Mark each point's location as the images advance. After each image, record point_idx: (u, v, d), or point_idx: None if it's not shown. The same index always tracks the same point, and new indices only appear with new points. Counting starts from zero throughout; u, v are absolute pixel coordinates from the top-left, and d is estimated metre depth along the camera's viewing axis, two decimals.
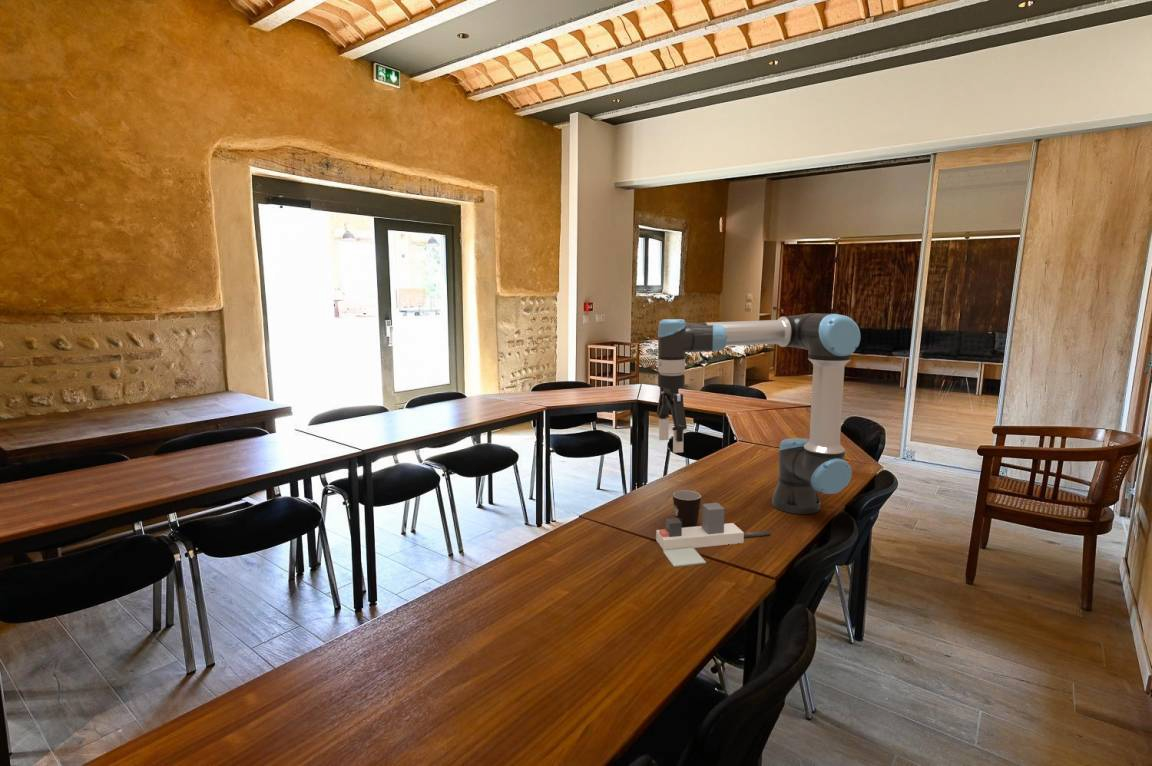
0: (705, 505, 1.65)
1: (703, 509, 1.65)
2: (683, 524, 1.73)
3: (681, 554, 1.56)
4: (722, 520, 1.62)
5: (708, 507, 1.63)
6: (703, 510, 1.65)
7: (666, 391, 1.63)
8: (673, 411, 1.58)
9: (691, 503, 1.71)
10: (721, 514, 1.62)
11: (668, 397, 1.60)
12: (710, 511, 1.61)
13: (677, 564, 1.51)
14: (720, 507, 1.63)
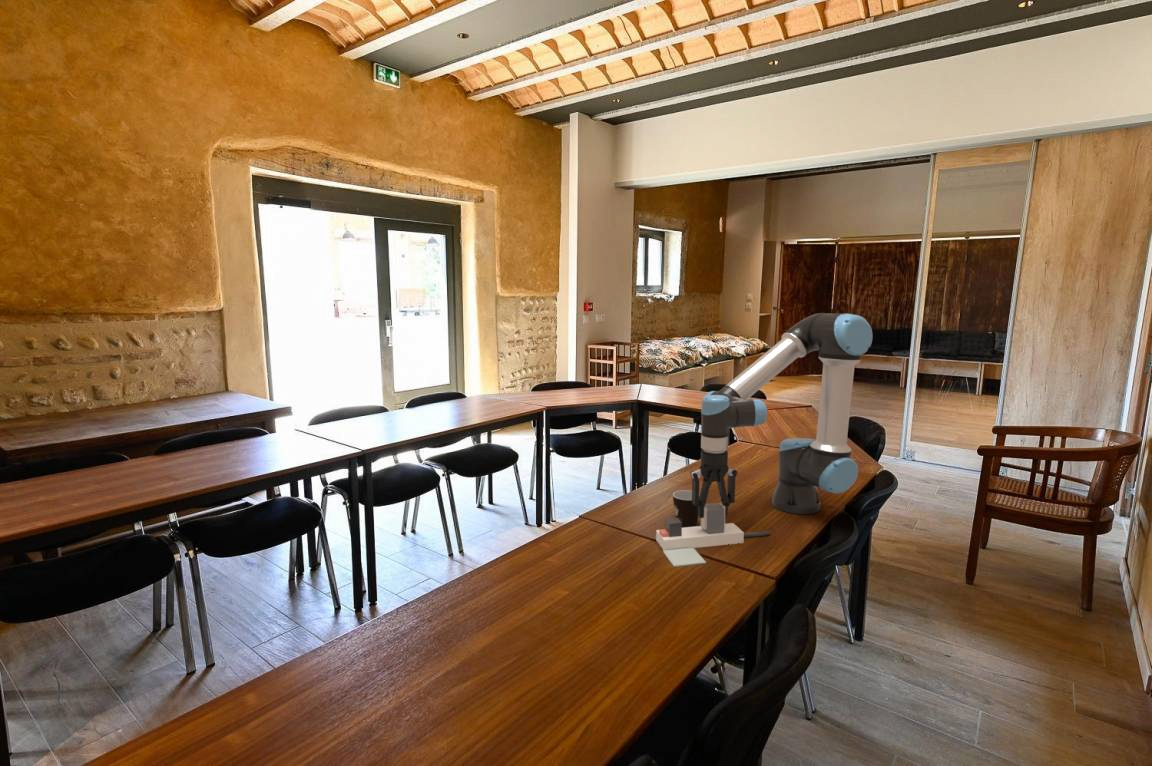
0: (705, 505, 1.65)
1: None
2: (683, 524, 1.73)
3: (681, 554, 1.56)
4: (722, 520, 1.62)
5: (708, 507, 1.63)
6: None
7: None
8: (702, 487, 1.63)
9: (691, 503, 1.71)
10: (721, 514, 1.62)
11: None
12: (710, 511, 1.61)
13: (677, 564, 1.51)
14: (720, 507, 1.63)
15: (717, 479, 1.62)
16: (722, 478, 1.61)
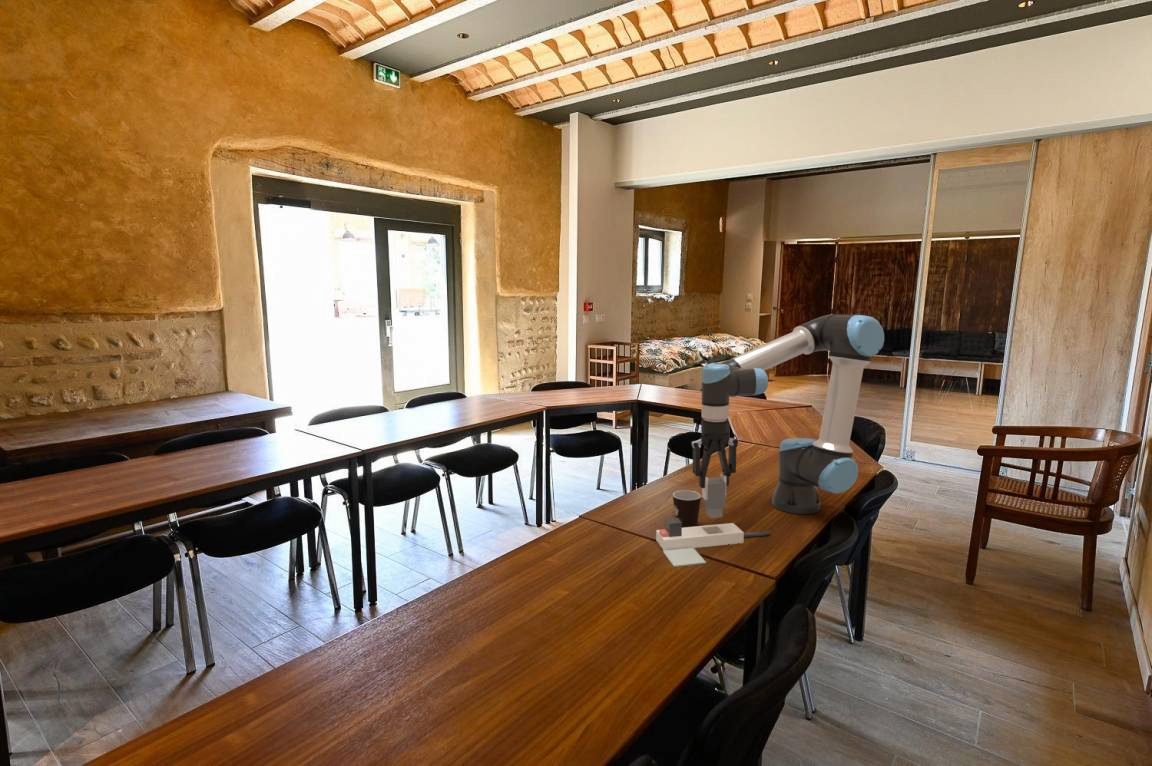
0: None
1: None
2: (683, 524, 1.73)
3: (681, 554, 1.56)
4: (723, 494, 1.61)
5: (709, 481, 1.62)
6: None
7: None
8: (703, 457, 1.62)
9: (691, 503, 1.71)
10: (722, 488, 1.61)
11: None
12: (711, 485, 1.60)
13: (677, 564, 1.51)
14: (721, 481, 1.62)
15: (718, 449, 1.60)
16: (723, 447, 1.60)
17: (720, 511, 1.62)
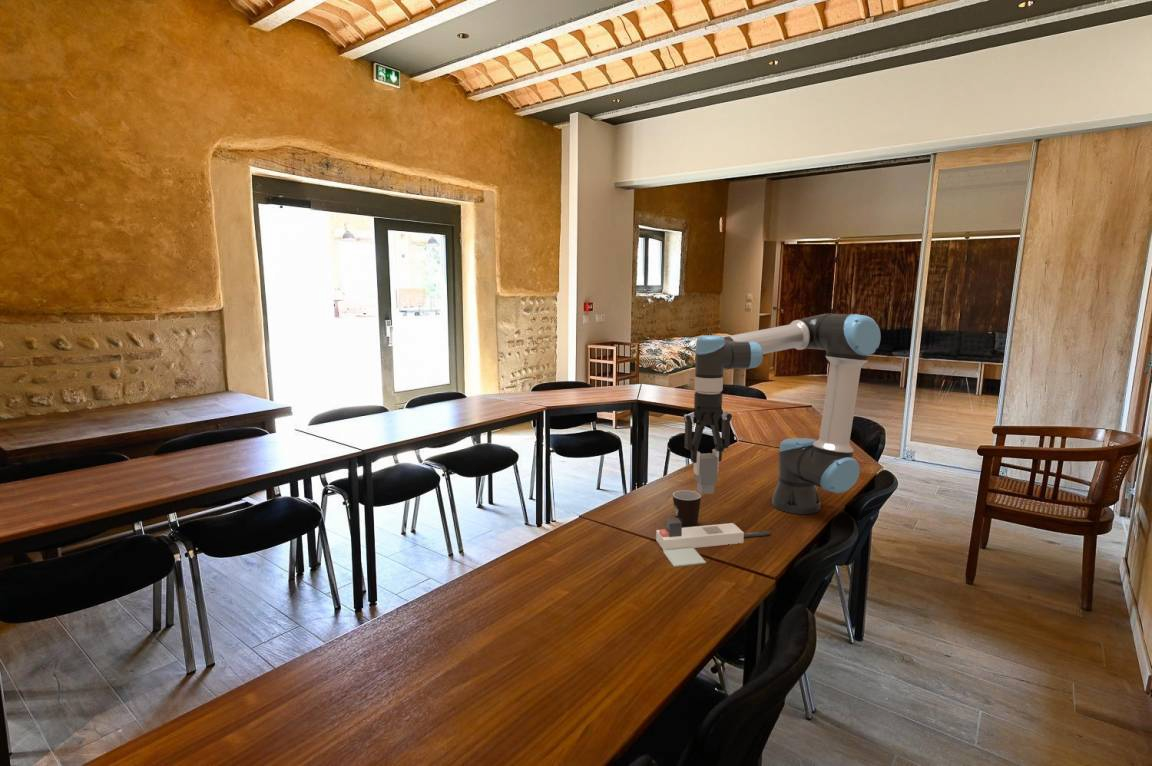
0: None
1: None
2: (683, 524, 1.73)
3: (681, 554, 1.56)
4: (715, 469, 1.57)
5: (701, 456, 1.58)
6: None
7: None
8: (695, 431, 1.58)
9: (691, 503, 1.71)
10: (714, 463, 1.57)
11: None
12: (703, 460, 1.56)
13: (677, 564, 1.51)
14: (713, 456, 1.58)
15: (711, 422, 1.56)
16: (716, 421, 1.56)
17: (712, 487, 1.59)
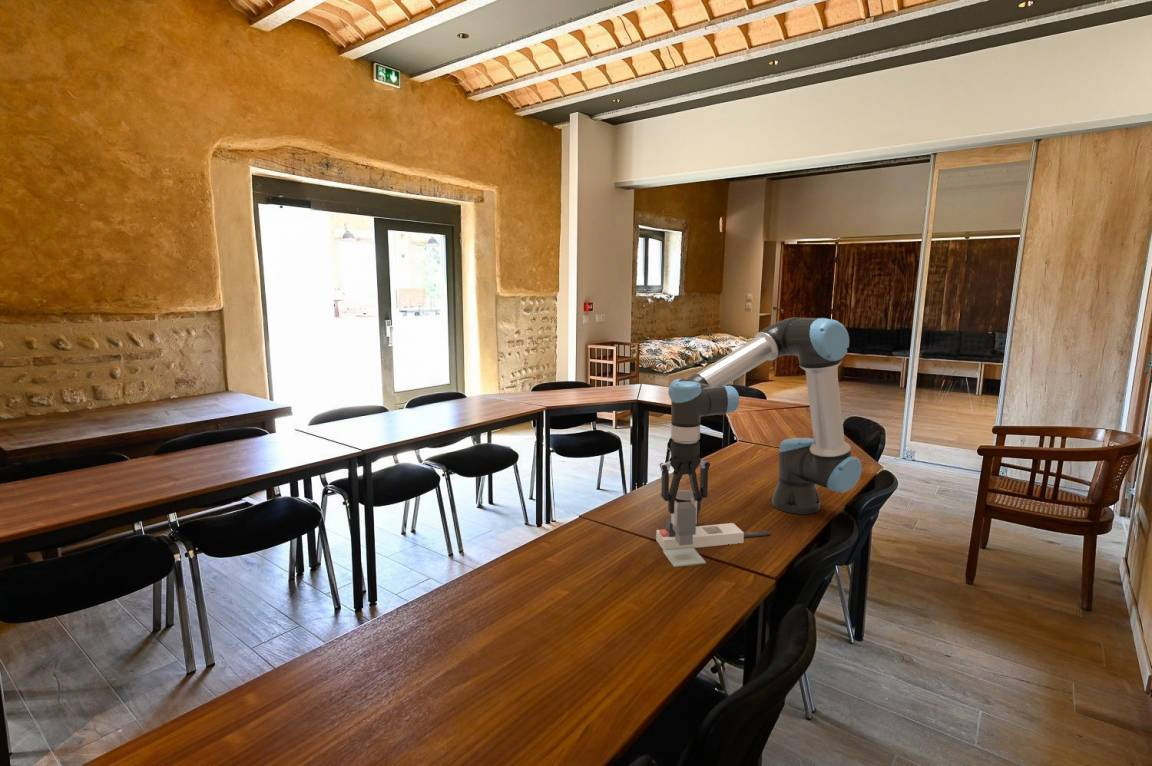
0: None
1: None
2: None
3: (681, 554, 1.56)
4: (693, 520, 1.51)
5: (679, 506, 1.52)
6: None
7: None
8: (672, 480, 1.52)
9: None
10: (692, 514, 1.51)
11: None
12: (681, 511, 1.50)
13: (677, 564, 1.51)
14: (691, 506, 1.52)
15: (688, 472, 1.50)
16: (693, 471, 1.50)
17: (690, 538, 1.52)
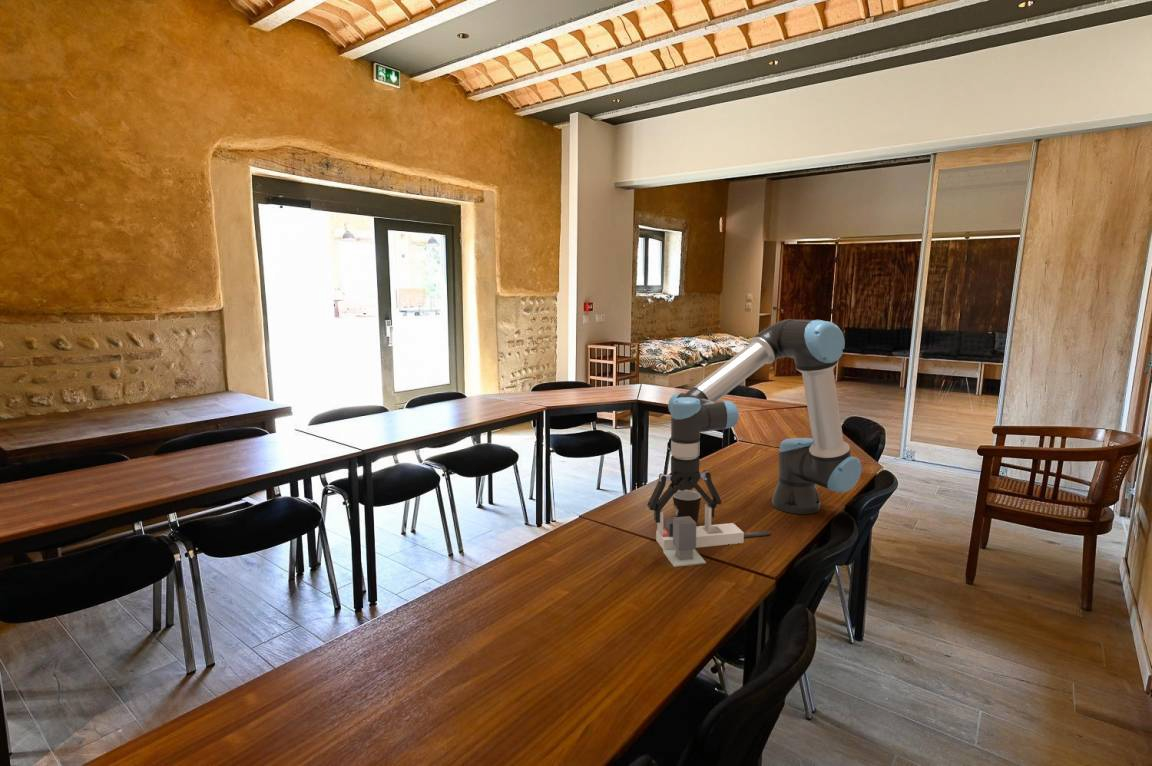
0: (676, 519, 1.54)
1: (674, 523, 1.54)
2: None
3: None
4: (694, 535, 1.52)
5: (679, 521, 1.53)
6: (674, 524, 1.54)
7: None
8: (665, 491, 1.52)
9: (691, 503, 1.71)
10: (693, 529, 1.52)
11: None
12: (681, 526, 1.51)
13: (677, 564, 1.51)
14: (692, 521, 1.52)
15: (688, 487, 1.51)
16: (696, 484, 1.51)
17: (690, 552, 1.53)
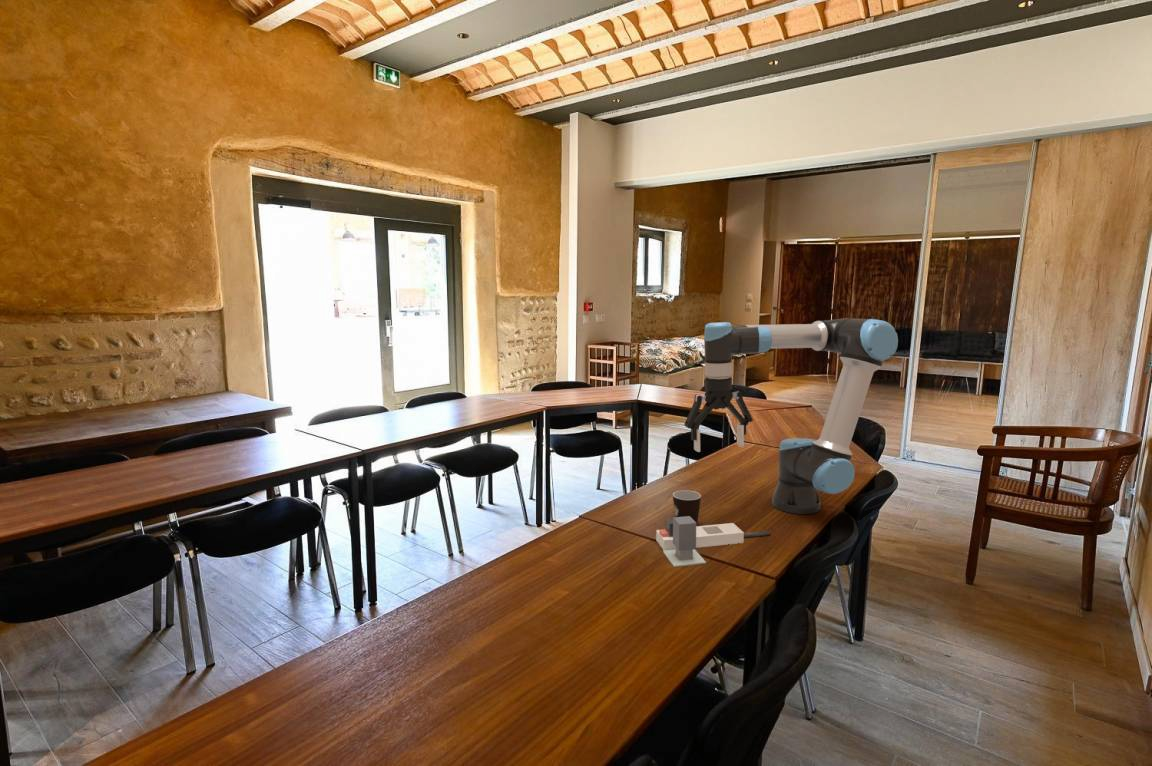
0: (676, 519, 1.54)
1: (674, 523, 1.54)
2: None
3: None
4: (694, 535, 1.52)
5: (679, 521, 1.53)
6: (674, 524, 1.54)
7: None
8: (701, 411, 1.63)
9: (691, 503, 1.71)
10: (693, 529, 1.52)
11: None
12: (681, 526, 1.51)
13: (677, 564, 1.51)
14: (692, 521, 1.52)
15: (722, 406, 1.62)
16: (729, 403, 1.62)
17: (690, 552, 1.53)
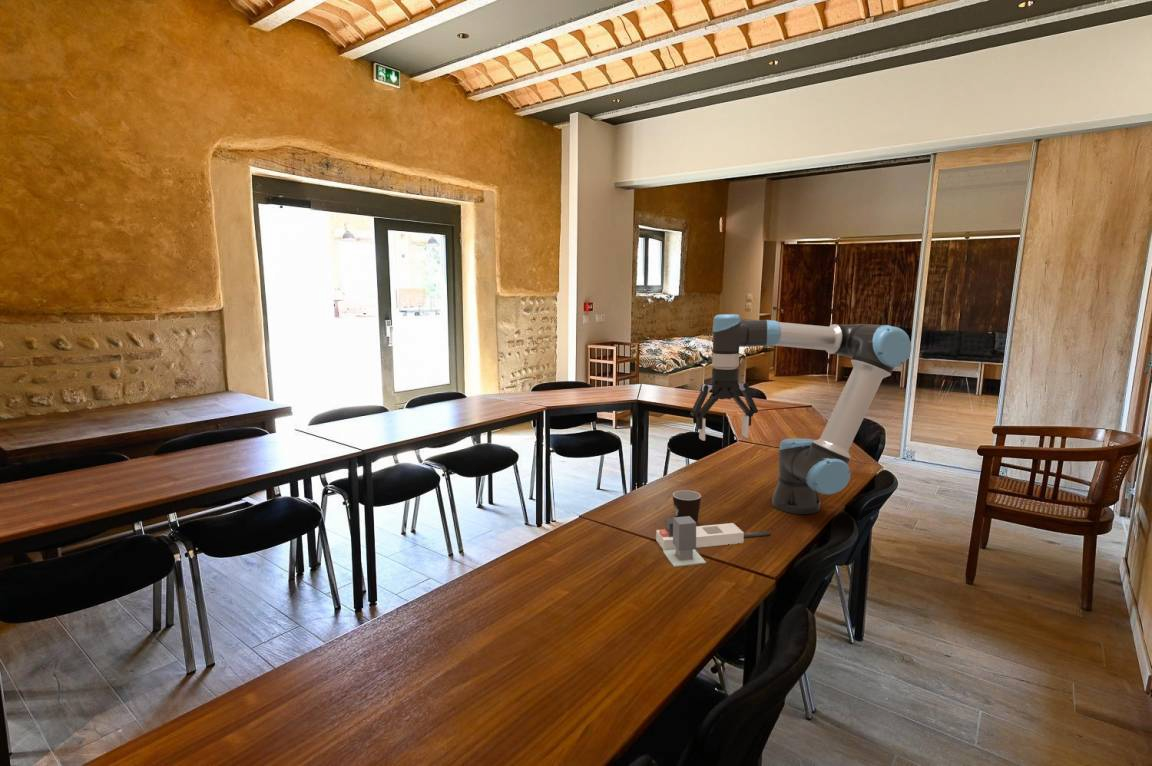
0: (676, 519, 1.54)
1: (674, 523, 1.54)
2: None
3: None
4: (694, 535, 1.52)
5: (679, 521, 1.53)
6: (674, 524, 1.54)
7: None
8: (707, 401, 1.67)
9: (691, 503, 1.71)
10: (693, 529, 1.52)
11: None
12: (681, 526, 1.51)
13: (677, 564, 1.51)
14: (692, 521, 1.52)
15: (728, 396, 1.66)
16: (735, 393, 1.65)
17: (690, 552, 1.53)
